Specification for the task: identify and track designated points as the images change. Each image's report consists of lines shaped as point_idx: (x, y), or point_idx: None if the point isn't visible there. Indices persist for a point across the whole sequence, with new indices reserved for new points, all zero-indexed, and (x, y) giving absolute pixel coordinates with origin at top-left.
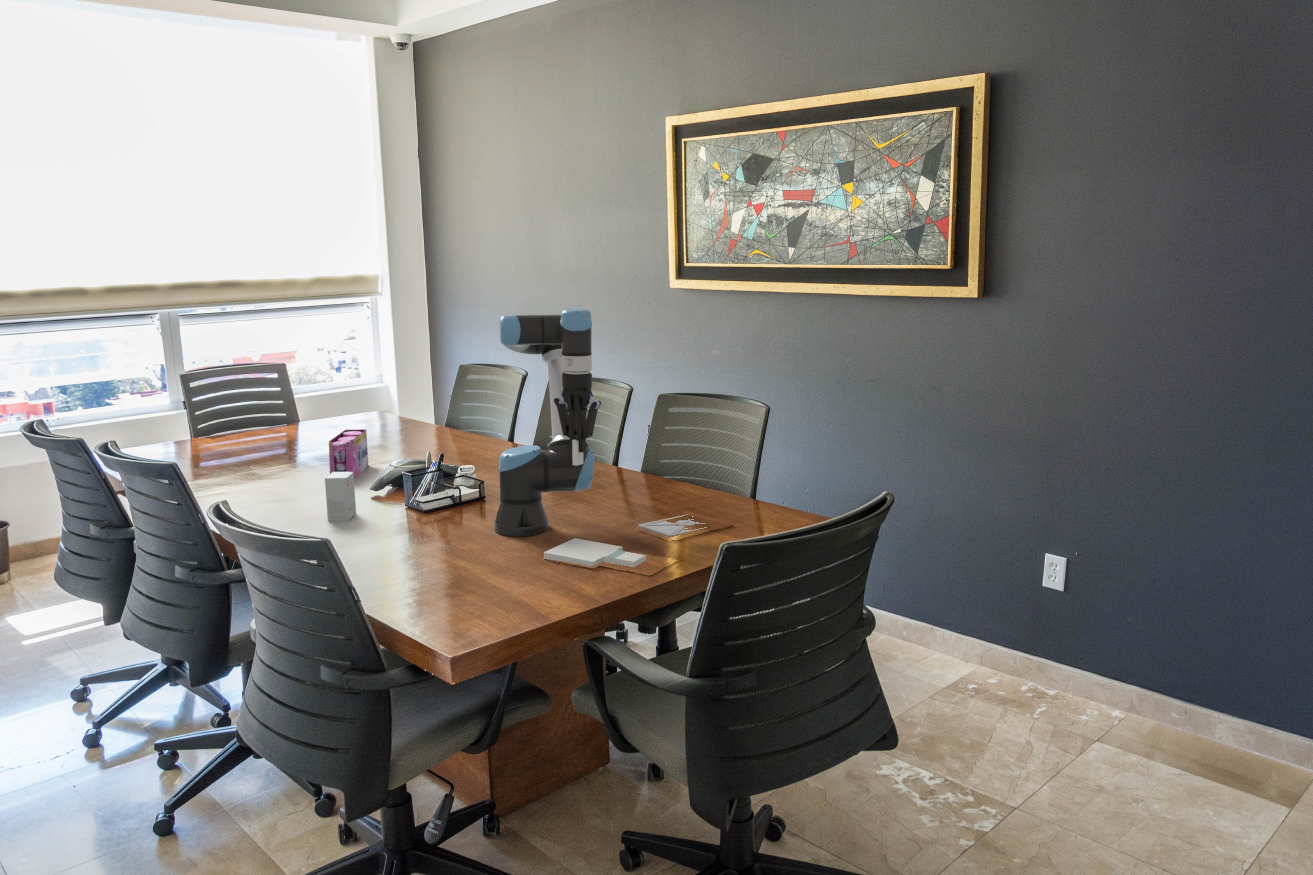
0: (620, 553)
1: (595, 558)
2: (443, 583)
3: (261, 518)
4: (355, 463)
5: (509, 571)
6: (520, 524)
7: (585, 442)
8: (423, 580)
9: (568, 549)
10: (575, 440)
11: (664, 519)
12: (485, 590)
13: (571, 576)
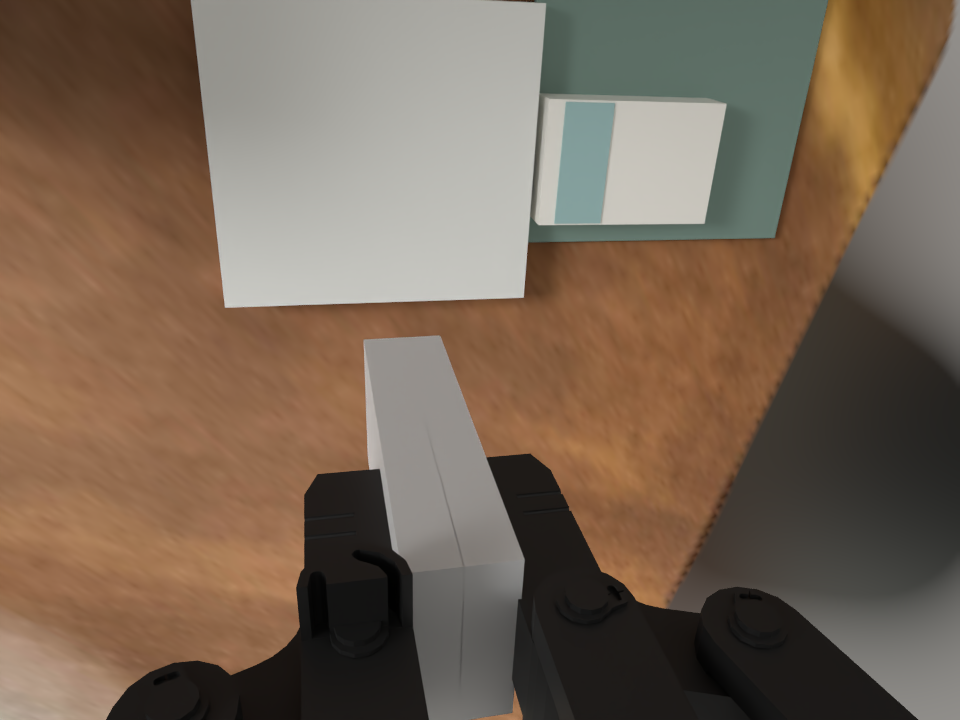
0: (603, 152)
1: (510, 252)
2: (101, 682)
3: None
4: None
5: (211, 481)
6: None
7: (590, 554)
8: (7, 703)
9: (306, 204)
10: (472, 713)
11: None
12: None
13: (477, 395)
